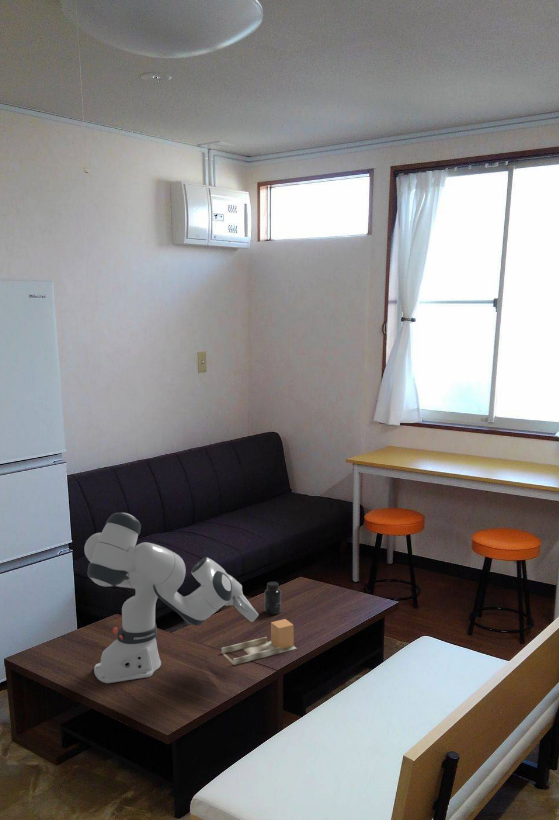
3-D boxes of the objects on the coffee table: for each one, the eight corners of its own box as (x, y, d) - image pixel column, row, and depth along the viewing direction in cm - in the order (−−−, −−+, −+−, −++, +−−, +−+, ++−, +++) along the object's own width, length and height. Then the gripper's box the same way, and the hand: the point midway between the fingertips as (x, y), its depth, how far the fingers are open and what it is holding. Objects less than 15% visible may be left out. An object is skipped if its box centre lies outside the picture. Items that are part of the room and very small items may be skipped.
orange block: (279, 649, 251) (278, 628, 250) (271, 643, 256) (270, 622, 255) (293, 646, 254) (293, 624, 253) (285, 639, 259) (285, 618, 258)
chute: (234, 669, 240) (233, 659, 240) (221, 657, 249) (221, 647, 248) (297, 652, 252) (297, 643, 252) (283, 641, 261) (283, 632, 260)
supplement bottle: (281, 615, 285) (280, 586, 284) (264, 615, 285) (263, 586, 284) (281, 608, 292) (281, 580, 291) (265, 608, 292) (264, 580, 291)
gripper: (245, 597, 232) (272, 621, 237) (227, 574, 251) (252, 597, 256) (232, 611, 231) (259, 635, 236) (215, 587, 250) (240, 610, 255)
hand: (255, 615), depth 246 cm, fingers closed
